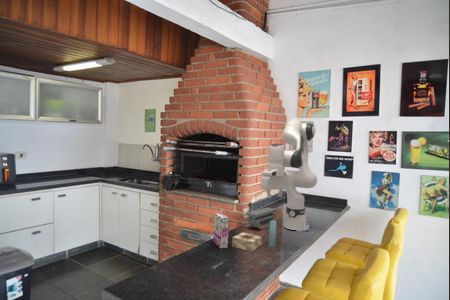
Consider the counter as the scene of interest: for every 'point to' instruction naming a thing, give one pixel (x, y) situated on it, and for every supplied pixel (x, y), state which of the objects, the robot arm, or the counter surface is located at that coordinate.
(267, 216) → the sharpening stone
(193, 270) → the counter surface
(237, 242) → the socket block
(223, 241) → the candy bar box
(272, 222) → the peg
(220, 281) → the counter surface
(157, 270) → the counter surface
